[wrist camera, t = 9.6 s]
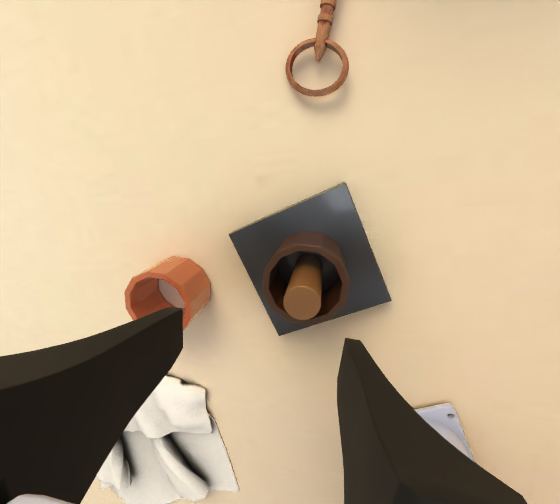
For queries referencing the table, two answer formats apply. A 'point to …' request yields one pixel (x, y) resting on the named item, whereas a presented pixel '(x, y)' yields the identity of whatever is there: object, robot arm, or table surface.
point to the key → (320, 50)
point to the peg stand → (313, 257)
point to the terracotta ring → (178, 273)
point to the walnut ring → (330, 298)
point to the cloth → (169, 450)
